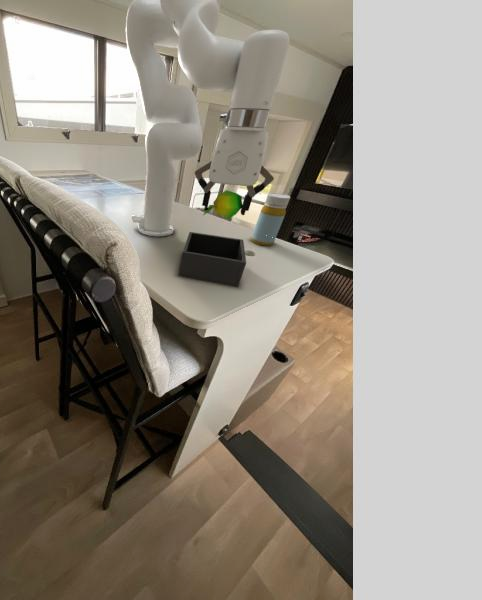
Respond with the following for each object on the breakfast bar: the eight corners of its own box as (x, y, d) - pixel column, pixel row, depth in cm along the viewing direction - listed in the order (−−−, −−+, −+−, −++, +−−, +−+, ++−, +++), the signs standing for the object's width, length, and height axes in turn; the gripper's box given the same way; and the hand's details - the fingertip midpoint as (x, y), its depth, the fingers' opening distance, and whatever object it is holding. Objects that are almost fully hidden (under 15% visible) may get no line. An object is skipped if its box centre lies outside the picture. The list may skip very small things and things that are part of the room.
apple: (243, 183, 59) (213, 184, 55) (253, 206, 57) (224, 209, 54) (222, 202, 65) (195, 204, 61) (231, 223, 64) (204, 227, 60)
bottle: (275, 247, 81) (295, 199, 73) (252, 244, 82) (269, 197, 74) (270, 239, 87) (287, 193, 78) (249, 237, 88) (264, 191, 79)
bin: (178, 275, 64) (182, 252, 60) (185, 252, 76) (189, 231, 72) (237, 287, 61) (246, 262, 57) (236, 261, 72) (243, 239, 68)
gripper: (200, 119, 49) (185, 211, 59) (298, 123, 45) (264, 220, 55) (203, 120, 55) (188, 203, 65) (290, 123, 51) (260, 211, 61)
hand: (223, 210), depth 60 cm, fingers closed on apple, 8 cm apart
